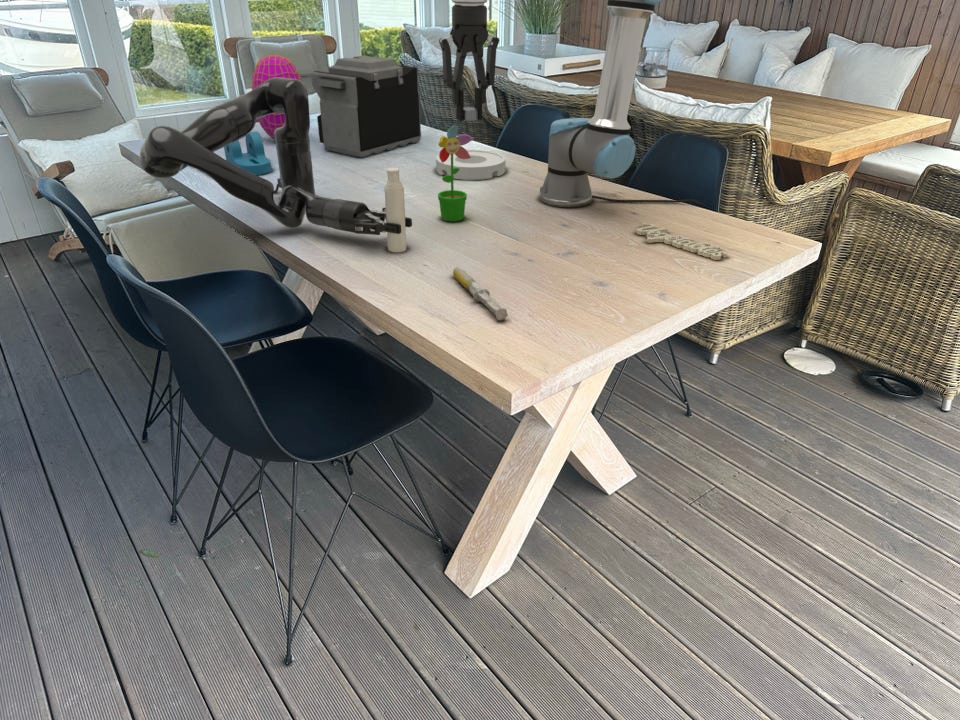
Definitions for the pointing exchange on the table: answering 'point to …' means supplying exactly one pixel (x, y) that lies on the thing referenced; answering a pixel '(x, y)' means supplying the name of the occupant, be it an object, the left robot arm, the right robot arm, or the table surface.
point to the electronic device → (367, 105)
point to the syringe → (479, 293)
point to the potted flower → (452, 199)
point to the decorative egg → (267, 70)
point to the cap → (470, 113)
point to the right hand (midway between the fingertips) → (469, 119)
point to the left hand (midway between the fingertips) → (405, 226)
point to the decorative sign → (680, 242)
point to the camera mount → (249, 155)
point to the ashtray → (473, 165)
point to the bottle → (395, 210)
